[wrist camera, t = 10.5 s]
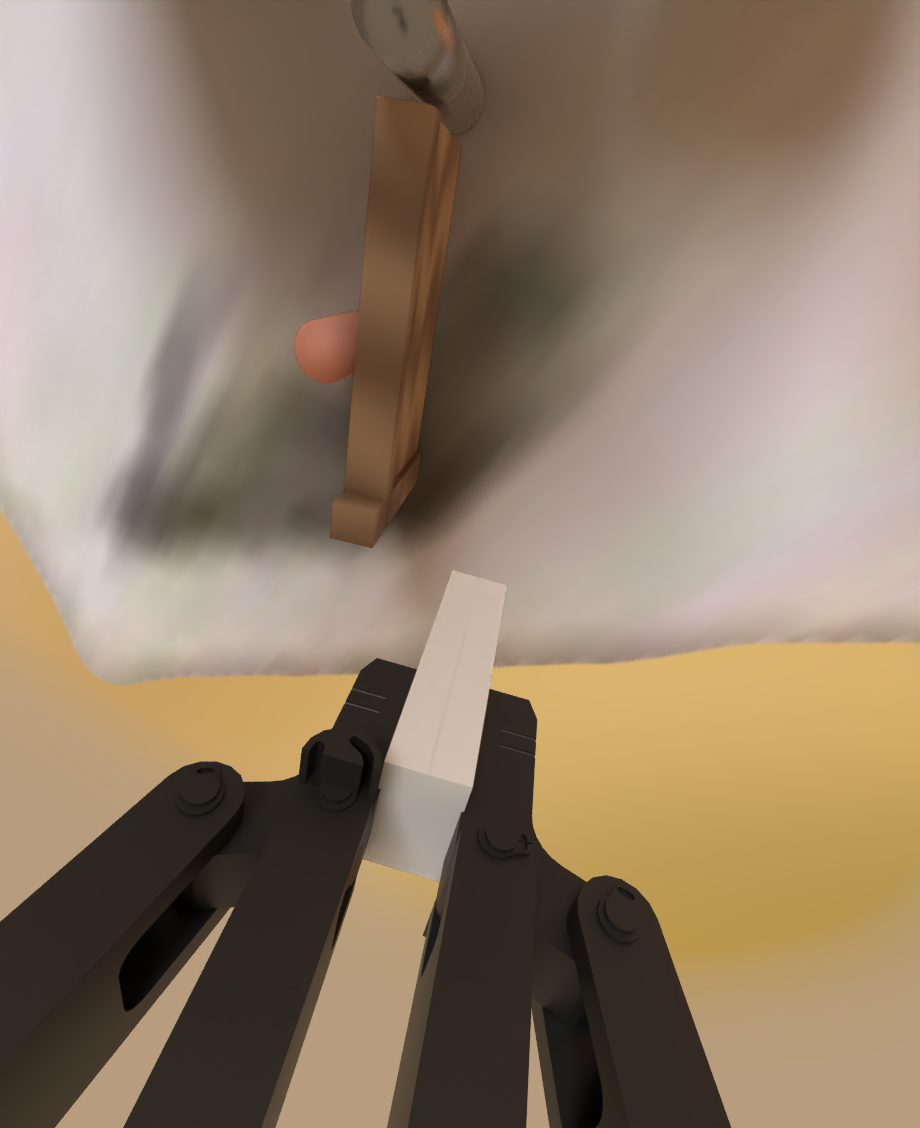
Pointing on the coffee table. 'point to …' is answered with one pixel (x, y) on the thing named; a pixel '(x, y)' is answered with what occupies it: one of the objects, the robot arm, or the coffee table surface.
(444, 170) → the gate
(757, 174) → the coffee table surface
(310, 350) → the latch post
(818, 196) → the coffee table surface
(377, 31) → the hinge post
